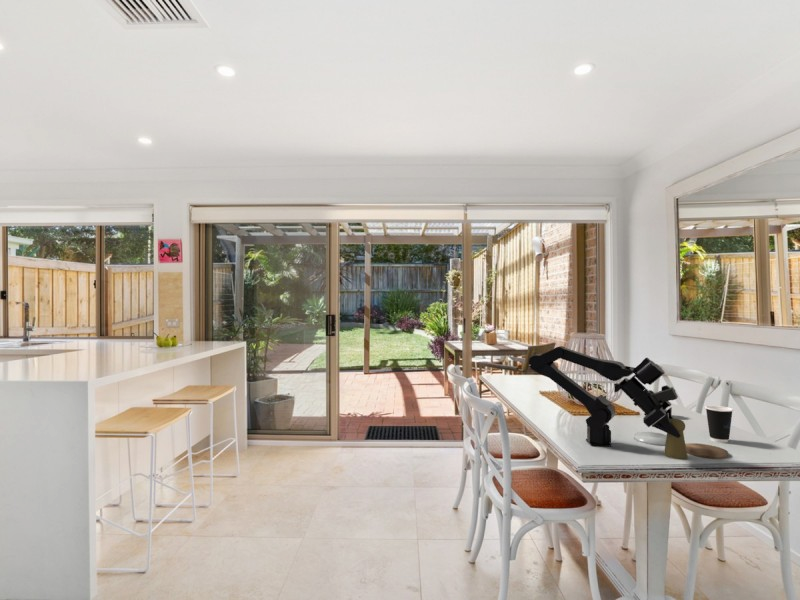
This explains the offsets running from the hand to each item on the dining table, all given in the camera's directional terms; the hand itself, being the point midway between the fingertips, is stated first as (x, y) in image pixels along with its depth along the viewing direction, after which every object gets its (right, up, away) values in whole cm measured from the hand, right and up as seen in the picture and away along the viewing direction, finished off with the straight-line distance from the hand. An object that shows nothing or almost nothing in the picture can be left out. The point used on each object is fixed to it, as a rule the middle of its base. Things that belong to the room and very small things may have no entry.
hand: (680, 434), depth 138 cm
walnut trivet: (+10, -7, +4) cm, 13 cm away
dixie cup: (+24, -7, +17) cm, 30 cm away
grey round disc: (+2, -7, +17) cm, 19 cm away
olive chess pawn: (-1, -7, +1) cm, 7 cm away
